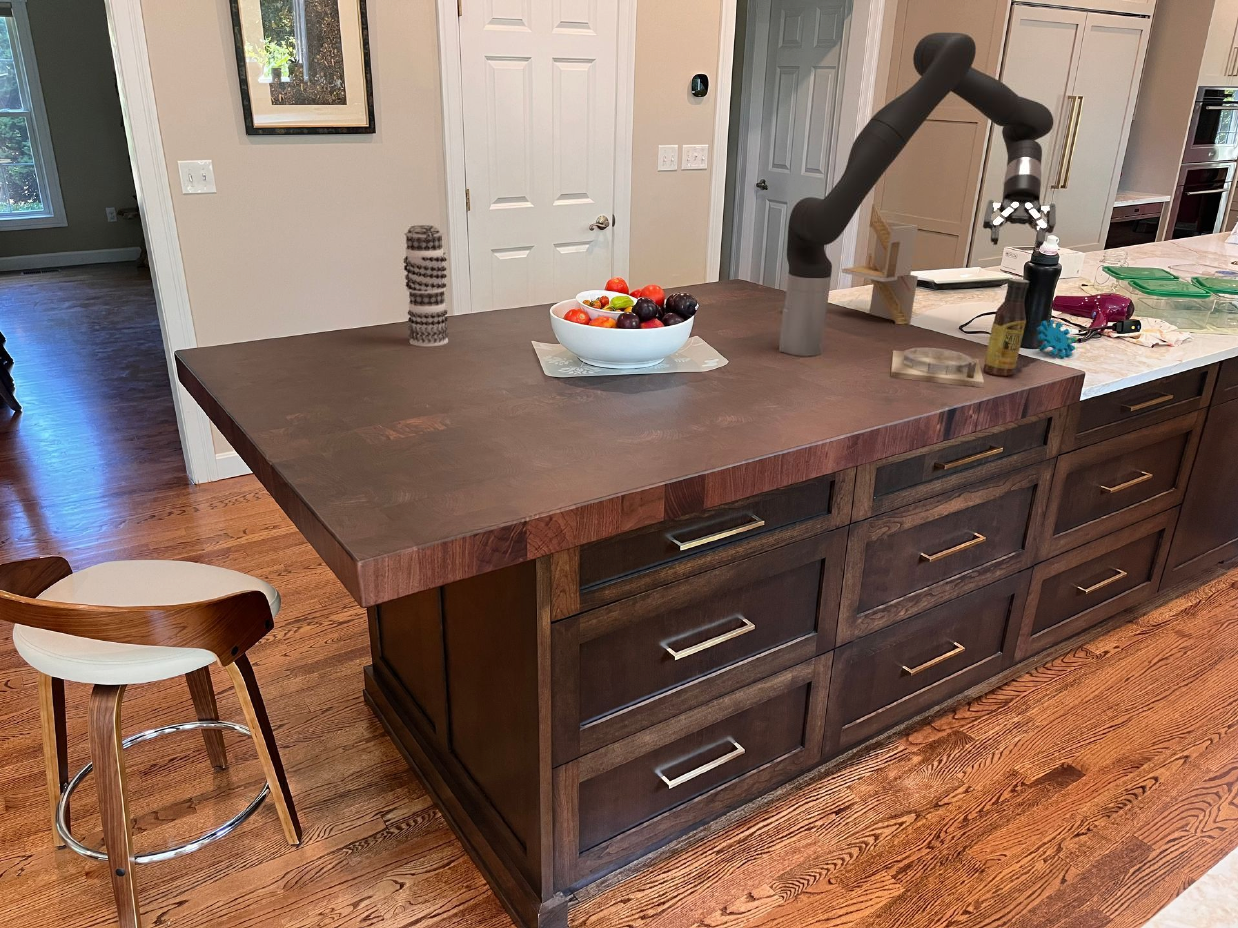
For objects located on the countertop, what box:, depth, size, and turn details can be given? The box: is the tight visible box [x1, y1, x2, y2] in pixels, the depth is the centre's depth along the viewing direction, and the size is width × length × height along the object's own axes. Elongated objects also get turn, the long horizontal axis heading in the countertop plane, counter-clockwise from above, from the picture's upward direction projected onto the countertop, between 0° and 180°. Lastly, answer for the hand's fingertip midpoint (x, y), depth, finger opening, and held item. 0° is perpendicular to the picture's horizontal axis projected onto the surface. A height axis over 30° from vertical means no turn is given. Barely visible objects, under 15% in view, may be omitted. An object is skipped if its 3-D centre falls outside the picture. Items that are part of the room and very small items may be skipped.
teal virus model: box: [1036, 318, 1078, 360], centre depth 206 cm, size 11×6×10 cm
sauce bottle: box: [983, 277, 1030, 377], centre depth 186 cm, size 6×6×20 cm
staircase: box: [841, 203, 919, 325], centre depth 228 cm, size 10×16×29 cm, turn 36°
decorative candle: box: [403, 224, 449, 348], centre depth 193 cm, size 9×9×25 cm
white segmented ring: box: [903, 347, 976, 378], centre depth 188 cm, size 14×14×3 cm
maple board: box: [890, 350, 985, 388], centre depth 189 cm, size 18×18×1 cm
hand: (1017, 244), depth 190 cm, fingers open, 8 cm apart
